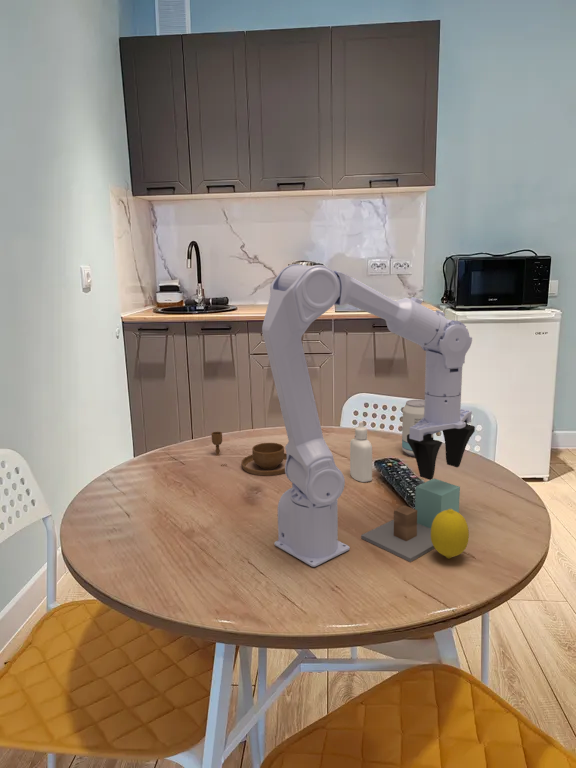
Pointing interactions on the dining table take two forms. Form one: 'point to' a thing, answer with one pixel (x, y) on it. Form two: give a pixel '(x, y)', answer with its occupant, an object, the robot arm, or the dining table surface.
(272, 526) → the dining table surface
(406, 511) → the wooden toy block
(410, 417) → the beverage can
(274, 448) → the place setting
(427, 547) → the base
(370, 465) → the eye dropper bottle
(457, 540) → the lemon
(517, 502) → the dining table surface
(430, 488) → the upright teal cuboid
